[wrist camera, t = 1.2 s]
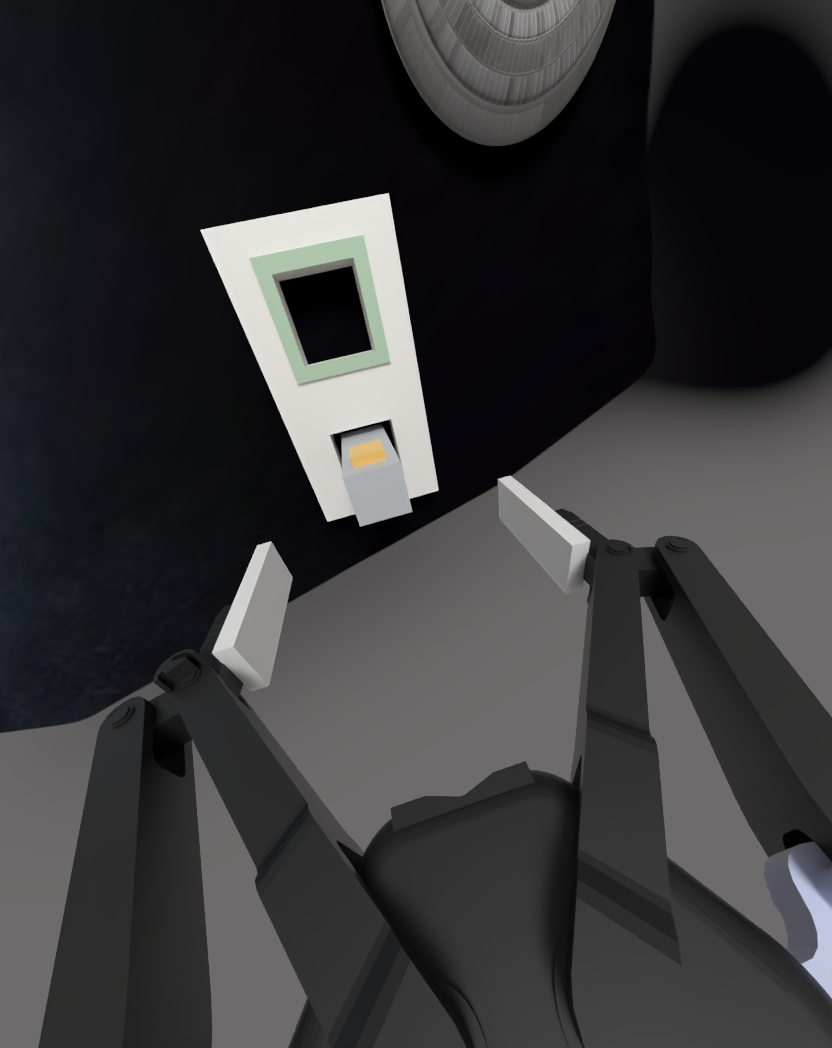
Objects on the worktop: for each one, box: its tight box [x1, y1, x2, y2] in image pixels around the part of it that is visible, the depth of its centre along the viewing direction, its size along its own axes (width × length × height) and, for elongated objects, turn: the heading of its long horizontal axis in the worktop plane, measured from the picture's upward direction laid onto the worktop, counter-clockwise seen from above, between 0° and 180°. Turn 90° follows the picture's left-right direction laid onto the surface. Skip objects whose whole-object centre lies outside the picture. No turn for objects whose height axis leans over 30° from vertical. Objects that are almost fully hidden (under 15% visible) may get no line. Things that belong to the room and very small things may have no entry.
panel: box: [201, 193, 439, 522], centre depth 26 cm, size 12×22×3 cm, turn 11°
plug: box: [341, 424, 412, 527], centre depth 25 cm, size 4×5×11 cm
